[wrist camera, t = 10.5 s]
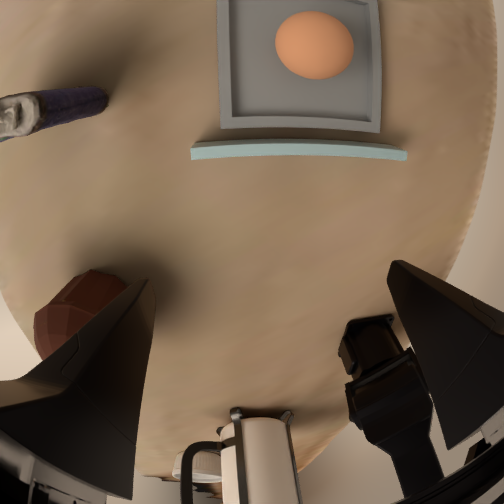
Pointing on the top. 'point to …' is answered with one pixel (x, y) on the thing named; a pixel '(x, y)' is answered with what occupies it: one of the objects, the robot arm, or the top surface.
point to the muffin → (73, 309)
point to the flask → (48, 109)
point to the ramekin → (201, 467)
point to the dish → (288, 83)
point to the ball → (314, 45)
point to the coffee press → (250, 462)
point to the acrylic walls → (295, 148)
